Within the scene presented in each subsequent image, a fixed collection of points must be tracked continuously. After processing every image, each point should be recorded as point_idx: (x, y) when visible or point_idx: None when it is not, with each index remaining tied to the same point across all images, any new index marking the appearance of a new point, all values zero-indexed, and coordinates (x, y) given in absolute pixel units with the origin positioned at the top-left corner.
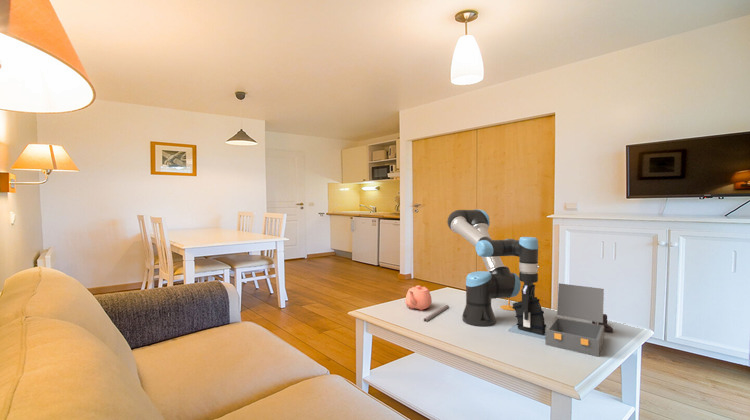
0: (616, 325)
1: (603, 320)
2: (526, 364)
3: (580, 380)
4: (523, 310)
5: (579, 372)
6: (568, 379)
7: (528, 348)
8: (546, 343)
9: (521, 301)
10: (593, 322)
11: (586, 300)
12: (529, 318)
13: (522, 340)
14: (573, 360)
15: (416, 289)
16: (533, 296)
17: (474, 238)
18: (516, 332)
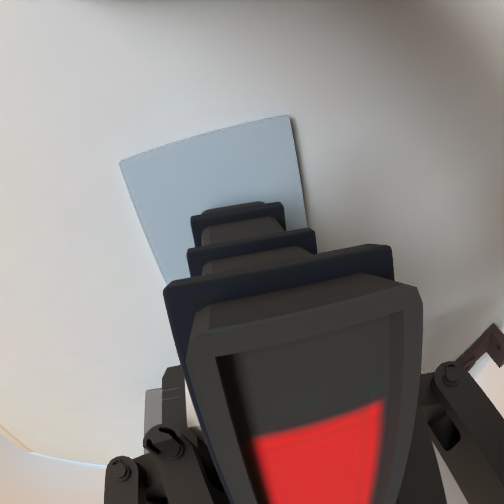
0: None
1: (492, 353)
2: None
3: (59, 457)
4: (116, 477)
5: (83, 456)
6: (39, 447)
7: (43, 368)
8: (147, 398)
9: (385, 462)
10: (491, 333)
11: (445, 490)
12: None
13: (78, 317)
14: (123, 448)
15: None
16: (470, 498)
17: None
18: (144, 228)
